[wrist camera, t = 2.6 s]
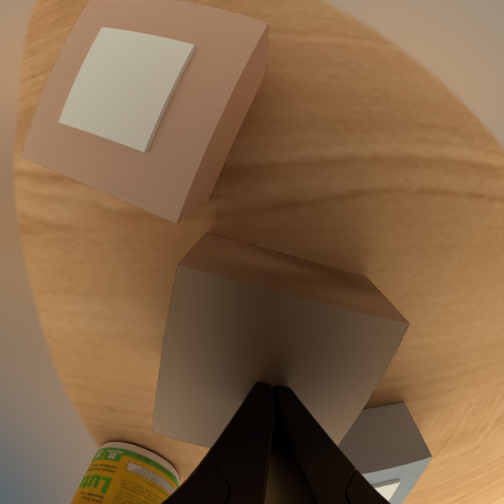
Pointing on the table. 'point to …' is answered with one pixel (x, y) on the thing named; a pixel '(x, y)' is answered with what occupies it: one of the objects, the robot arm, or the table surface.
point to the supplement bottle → (126, 477)
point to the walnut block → (268, 339)
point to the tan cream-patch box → (149, 100)
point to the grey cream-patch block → (387, 450)
